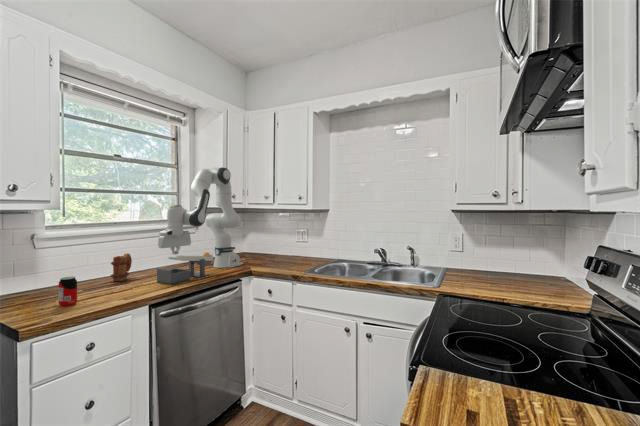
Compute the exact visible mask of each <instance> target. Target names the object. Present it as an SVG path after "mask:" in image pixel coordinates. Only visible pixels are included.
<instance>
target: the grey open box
mask: <svg viewBox="0 0 640 426" xmlns="http://www.w3.org/2000/svg"><path fill="white" fill-rule="evenodd" d="M185 281H186V282H189V281H191V277H190V270H189V269H184V268H176V267H175V268H171V269H165V268H156V282H158V283H159V284H162V285H163V284H164V285H169V286H172V285H177V283H178V284H181V283H180V282H182V283H186V282H185Z"/></svg>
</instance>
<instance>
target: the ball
mask: <svg viewBox="0 0 640 426" xmlns="http://www.w3.org/2000/svg"><path fill="white" fill-rule="evenodd" d="M210 255H211V254H210V252H204V253H203V254H202V256H203V257H210Z"/></svg>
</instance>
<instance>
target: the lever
mask: <svg viewBox="0 0 640 426" xmlns="http://www.w3.org/2000/svg"><path fill="white" fill-rule="evenodd" d="M168 259H169V260H175V261H182V262H189V261H192V262H194V263H196V265H199V266H200V259H205V266H211V265H212V261H214V259H215V256H214V255H213V254H210V257H203V255H176V256H173V257H172V256H171V257H170V256H169V257H168Z"/></svg>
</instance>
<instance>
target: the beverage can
mask: <svg viewBox="0 0 640 426" xmlns="http://www.w3.org/2000/svg"><path fill="white" fill-rule="evenodd" d="M77 303H78V281H77V279H76V276H65V277H60V279H59V282H58V305H59V306H60V307H70V306H73V305H76V304H77Z"/></svg>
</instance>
